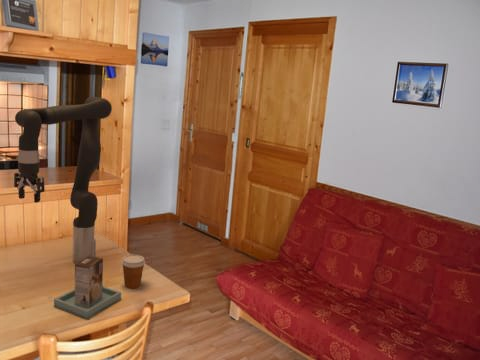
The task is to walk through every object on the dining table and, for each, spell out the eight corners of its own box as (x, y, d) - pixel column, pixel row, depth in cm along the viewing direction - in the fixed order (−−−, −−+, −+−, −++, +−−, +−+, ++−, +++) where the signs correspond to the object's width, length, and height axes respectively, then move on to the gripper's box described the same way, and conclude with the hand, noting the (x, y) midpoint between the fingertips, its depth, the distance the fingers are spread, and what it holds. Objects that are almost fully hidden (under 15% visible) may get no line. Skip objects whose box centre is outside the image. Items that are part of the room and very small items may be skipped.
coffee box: (87, 293, 173) (88, 255, 169) (102, 297, 171) (103, 258, 168) (74, 304, 164) (74, 264, 160) (89, 308, 162) (90, 267, 159)
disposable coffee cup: (130, 278, 191) (132, 252, 189) (148, 284, 187) (150, 258, 185) (115, 286, 183) (116, 259, 180) (134, 292, 179) (135, 265, 176)
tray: (89, 288, 179) (89, 281, 178) (120, 299, 173) (121, 292, 172) (54, 306, 163) (54, 299, 162) (86, 319, 157) (87, 311, 156)
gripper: (49, 162, 176) (49, 201, 179) (24, 157, 181) (24, 195, 185) (33, 164, 169) (34, 205, 172) (7, 159, 175) (8, 198, 178)
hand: (29, 200), depth 179 cm, fingers open, 8 cm apart
